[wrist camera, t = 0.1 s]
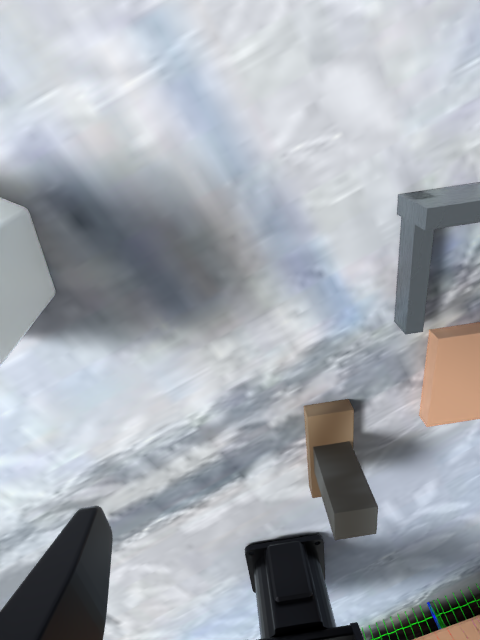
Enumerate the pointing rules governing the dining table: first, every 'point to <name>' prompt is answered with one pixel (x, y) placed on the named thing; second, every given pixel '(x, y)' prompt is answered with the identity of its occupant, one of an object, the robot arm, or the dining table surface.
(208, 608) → the dining table surface
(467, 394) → the tile
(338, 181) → the dining table surface
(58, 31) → the dining table surface
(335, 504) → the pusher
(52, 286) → the jar
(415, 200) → the grey u-shaped frame
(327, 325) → the dining table surface
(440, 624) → the house
